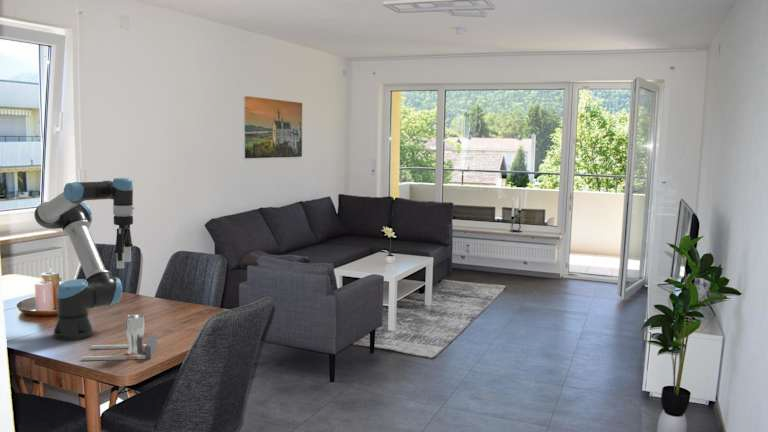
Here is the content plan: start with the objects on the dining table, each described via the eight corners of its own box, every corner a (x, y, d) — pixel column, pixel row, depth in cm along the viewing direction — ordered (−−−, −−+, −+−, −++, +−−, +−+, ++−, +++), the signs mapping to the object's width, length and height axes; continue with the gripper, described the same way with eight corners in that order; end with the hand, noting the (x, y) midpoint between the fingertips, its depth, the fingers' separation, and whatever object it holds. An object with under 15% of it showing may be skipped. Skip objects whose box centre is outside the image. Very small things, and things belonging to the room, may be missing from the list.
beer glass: (147, 350, 258) (146, 314, 256) (141, 356, 251) (140, 319, 249) (129, 349, 258) (129, 313, 256) (123, 355, 251) (122, 318, 249)
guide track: (82, 360, 244) (82, 347, 244) (92, 348, 258) (92, 336, 258) (150, 358, 249) (150, 346, 248) (156, 346, 263) (156, 334, 262)
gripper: (126, 219, 255) (127, 271, 257) (138, 211, 279) (139, 259, 282) (106, 218, 253) (107, 271, 256) (120, 211, 278) (121, 259, 280)
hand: (124, 265), depth 269 cm, fingers open, 13 cm apart
